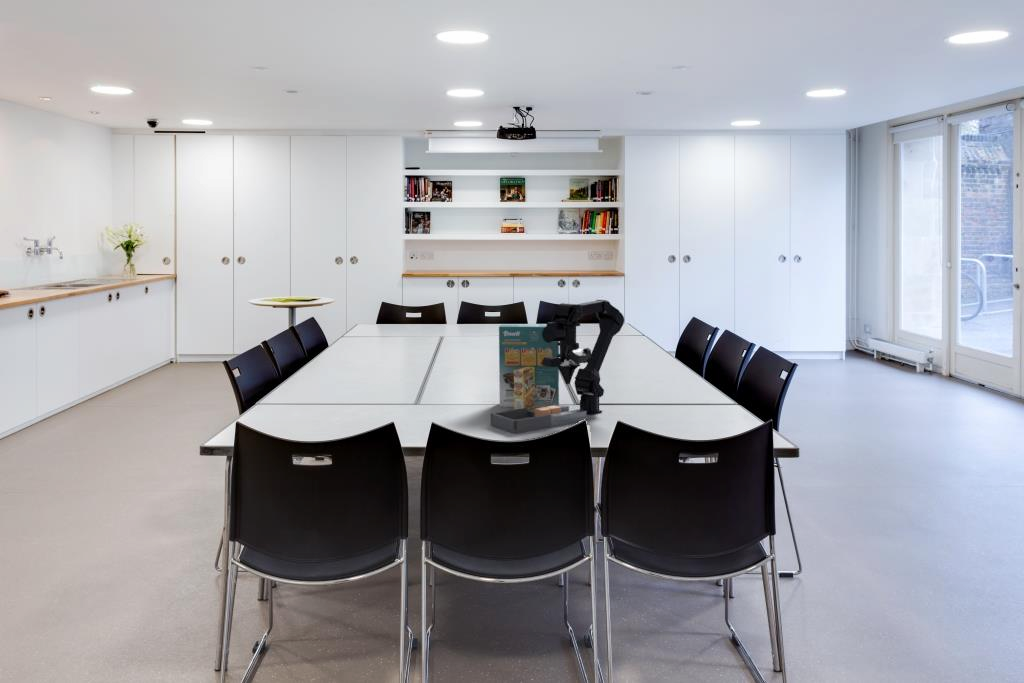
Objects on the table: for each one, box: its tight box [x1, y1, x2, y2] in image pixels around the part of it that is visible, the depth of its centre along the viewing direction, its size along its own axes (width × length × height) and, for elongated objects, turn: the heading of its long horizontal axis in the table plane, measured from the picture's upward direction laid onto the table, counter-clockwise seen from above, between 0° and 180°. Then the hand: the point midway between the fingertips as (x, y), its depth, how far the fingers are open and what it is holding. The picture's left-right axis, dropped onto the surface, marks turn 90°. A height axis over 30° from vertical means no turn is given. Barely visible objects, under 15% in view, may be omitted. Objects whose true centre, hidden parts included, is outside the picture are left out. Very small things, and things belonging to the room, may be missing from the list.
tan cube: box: [534, 407, 551, 417], centre depth 289 cm, size 4×4×4 cm
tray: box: [490, 408, 552, 435], centre depth 284 cm, size 15×14×4 cm
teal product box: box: [498, 324, 560, 408], centre depth 315 cm, size 22×6×30 cm, turn 84°
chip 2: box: [546, 405, 561, 414], centre depth 292 cm, size 4×4×4 cm
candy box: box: [514, 367, 536, 410], centre depth 309 cm, size 9×4×15 cm, turn 150°
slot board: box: [528, 404, 588, 428], centre depth 293 cm, size 16×14×3 cm
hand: (567, 384), depth 294 cm, fingers closed
